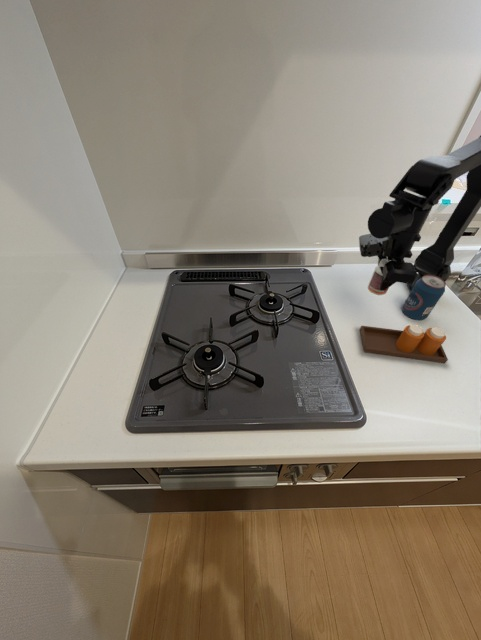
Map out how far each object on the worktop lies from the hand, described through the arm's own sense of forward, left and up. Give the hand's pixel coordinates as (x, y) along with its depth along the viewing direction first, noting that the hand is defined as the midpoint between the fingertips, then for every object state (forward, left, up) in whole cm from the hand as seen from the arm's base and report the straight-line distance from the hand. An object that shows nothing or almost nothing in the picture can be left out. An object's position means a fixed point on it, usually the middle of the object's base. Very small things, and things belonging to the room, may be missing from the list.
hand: (379, 283), depth 71 cm
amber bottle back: (+10, +14, -12) cm, 20 cm away
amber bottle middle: (+10, +9, -12) cm, 17 cm away
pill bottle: (0, 0, -2) cm, 2 cm away
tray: (+10, +7, -12) cm, 17 cm away
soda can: (-4, +14, -12) cm, 19 cm away
